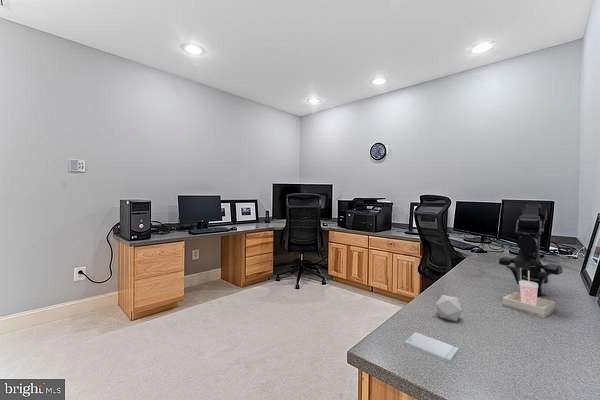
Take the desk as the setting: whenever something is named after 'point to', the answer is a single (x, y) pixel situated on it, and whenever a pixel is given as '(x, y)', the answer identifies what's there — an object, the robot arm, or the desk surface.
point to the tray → (529, 305)
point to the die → (449, 308)
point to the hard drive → (432, 347)
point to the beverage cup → (528, 291)
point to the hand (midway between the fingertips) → (528, 286)
